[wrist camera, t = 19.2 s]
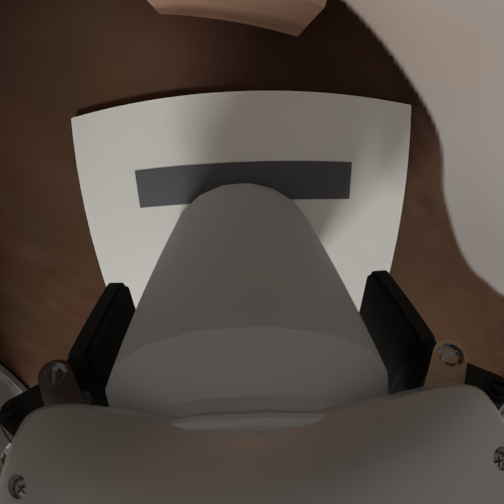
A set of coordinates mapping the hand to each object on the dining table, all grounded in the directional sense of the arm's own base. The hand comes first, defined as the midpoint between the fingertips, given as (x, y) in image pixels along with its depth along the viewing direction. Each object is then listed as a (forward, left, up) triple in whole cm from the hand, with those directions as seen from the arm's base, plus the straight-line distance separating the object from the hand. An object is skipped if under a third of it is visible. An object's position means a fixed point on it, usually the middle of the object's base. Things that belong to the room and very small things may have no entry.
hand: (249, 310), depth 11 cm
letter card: (0, 0, -6) cm, 6 cm away
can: (0, 0, -6) cm, 6 cm away
